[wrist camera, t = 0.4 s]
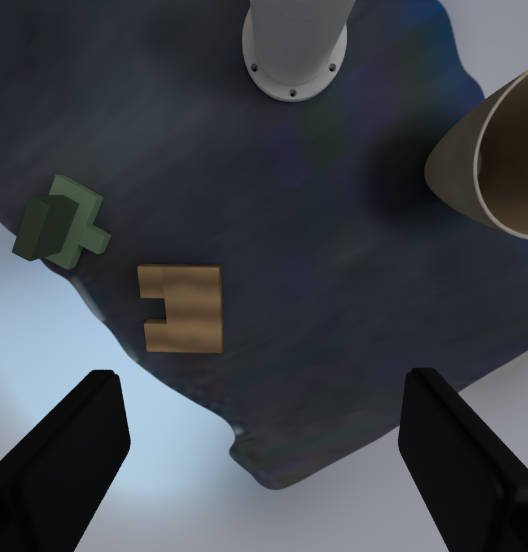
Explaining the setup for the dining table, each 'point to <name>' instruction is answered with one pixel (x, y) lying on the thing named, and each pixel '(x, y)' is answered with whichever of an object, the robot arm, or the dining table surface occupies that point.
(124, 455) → the robot arm
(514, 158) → the plant pot
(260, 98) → the dining table surface
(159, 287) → the notched brown wooden block
